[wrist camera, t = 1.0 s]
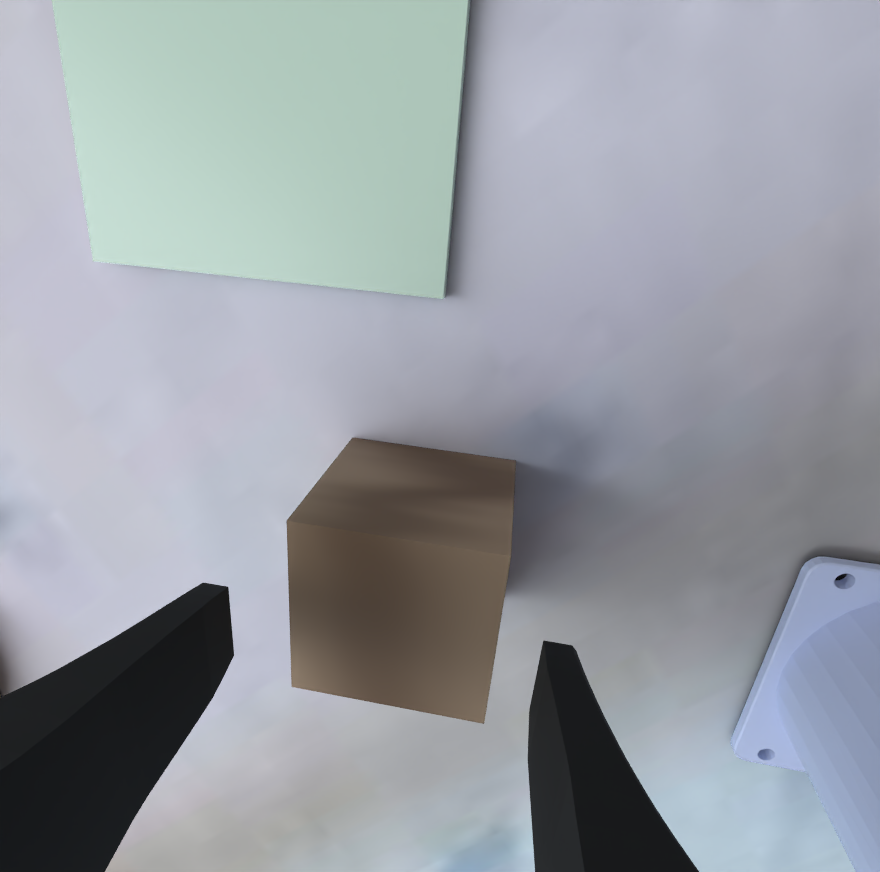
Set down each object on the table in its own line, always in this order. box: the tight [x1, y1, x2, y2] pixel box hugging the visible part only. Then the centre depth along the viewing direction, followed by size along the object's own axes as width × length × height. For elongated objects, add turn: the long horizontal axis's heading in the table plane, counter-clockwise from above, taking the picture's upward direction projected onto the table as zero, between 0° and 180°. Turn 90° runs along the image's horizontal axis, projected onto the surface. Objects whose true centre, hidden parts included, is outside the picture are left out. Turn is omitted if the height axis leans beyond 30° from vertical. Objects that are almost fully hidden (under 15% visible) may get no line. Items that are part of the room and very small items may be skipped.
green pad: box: [52, 0, 470, 299], centre depth 13 cm, size 10×10×1 cm
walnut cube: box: [287, 438, 516, 724], centre depth 15 cm, size 5×5×5 cm
